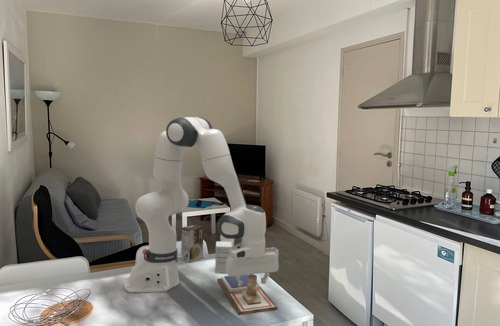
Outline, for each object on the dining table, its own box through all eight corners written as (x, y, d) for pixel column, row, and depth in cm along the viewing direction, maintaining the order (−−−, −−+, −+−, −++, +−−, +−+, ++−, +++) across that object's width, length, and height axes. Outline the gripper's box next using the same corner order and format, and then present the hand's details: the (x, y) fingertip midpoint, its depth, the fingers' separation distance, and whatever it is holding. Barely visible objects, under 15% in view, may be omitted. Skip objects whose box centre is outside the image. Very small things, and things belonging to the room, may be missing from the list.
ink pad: (230, 292, 151) (230, 288, 151) (221, 279, 164) (221, 275, 163) (258, 288, 155) (258, 285, 155) (248, 276, 168) (248, 272, 167)
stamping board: (238, 315, 136) (238, 312, 136) (217, 280, 164) (217, 278, 164) (277, 309, 141) (277, 306, 141) (250, 277, 169) (250, 275, 169)
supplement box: (215, 267, 179) (216, 241, 178) (231, 267, 180) (232, 241, 178) (214, 273, 172) (215, 246, 170) (231, 273, 172) (232, 246, 171)
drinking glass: (231, 263, 185) (232, 233, 183) (218, 261, 186) (218, 231, 184) (235, 258, 191) (235, 229, 190) (221, 257, 193) (222, 228, 191)
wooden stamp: (248, 305, 141) (249, 280, 140) (242, 296, 148) (243, 273, 147) (260, 303, 143) (261, 279, 142) (254, 295, 149) (255, 271, 148)
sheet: (241, 311, 137) (241, 310, 137) (230, 293, 150) (230, 293, 150) (274, 306, 141) (274, 306, 141) (260, 290, 154) (260, 289, 154)
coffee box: (194, 254, 194) (195, 223, 193) (203, 258, 190) (204, 226, 189) (180, 259, 187) (181, 227, 186) (189, 263, 183) (190, 230, 182)
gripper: (275, 244, 150) (274, 278, 151) (225, 248, 143) (224, 283, 144) (282, 249, 144) (280, 284, 145) (229, 254, 137) (228, 291, 138)
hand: (252, 284), depth 145 cm, fingers open, 8 cm apart
